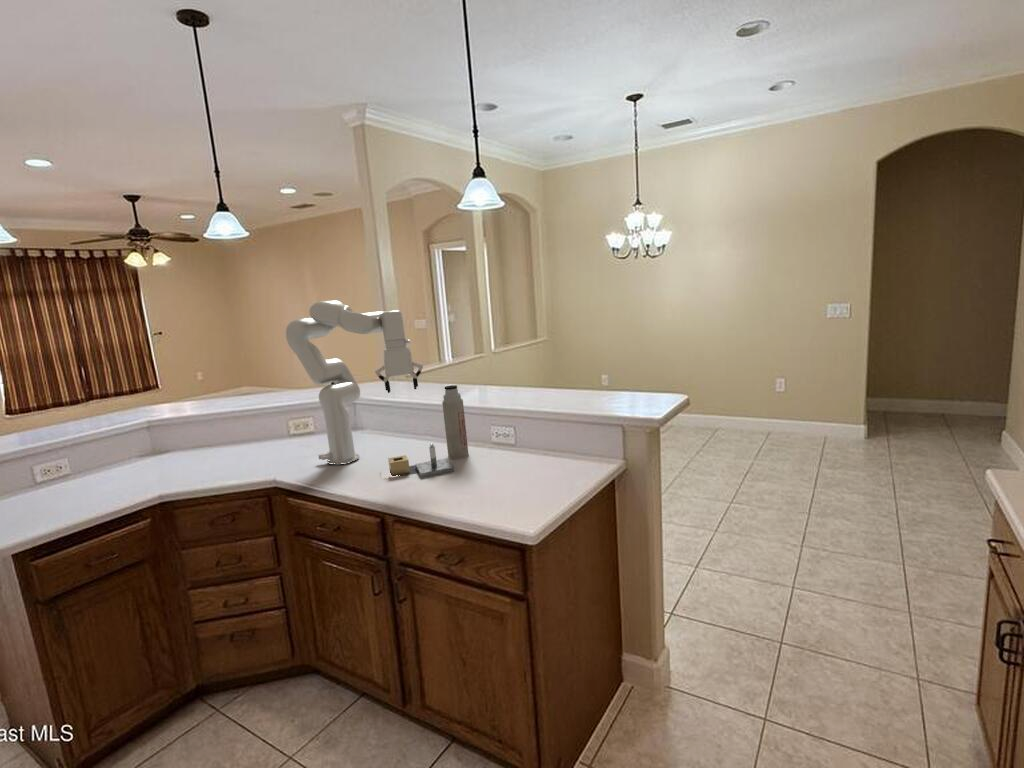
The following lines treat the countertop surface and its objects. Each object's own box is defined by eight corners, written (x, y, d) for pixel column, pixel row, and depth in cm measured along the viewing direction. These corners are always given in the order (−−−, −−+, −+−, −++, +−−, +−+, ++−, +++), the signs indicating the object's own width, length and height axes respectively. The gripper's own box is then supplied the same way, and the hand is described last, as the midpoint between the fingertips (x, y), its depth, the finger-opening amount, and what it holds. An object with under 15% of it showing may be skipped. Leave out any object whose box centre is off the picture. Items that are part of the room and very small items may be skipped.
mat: (381, 480, 188) (381, 480, 187) (379, 472, 197) (379, 471, 197) (421, 473, 192) (421, 472, 192) (416, 465, 201) (416, 464, 201)
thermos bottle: (472, 453, 210) (465, 384, 205) (458, 459, 204) (451, 388, 199) (457, 451, 215) (450, 383, 210) (444, 457, 209) (436, 387, 204)
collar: (391, 476, 190) (390, 463, 189) (389, 471, 196) (388, 458, 195) (410, 473, 192) (408, 459, 191) (407, 467, 198) (405, 455, 197)
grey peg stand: (421, 478, 186) (417, 451, 184) (415, 469, 197) (412, 443, 195) (454, 472, 190) (451, 445, 188) (447, 463, 201) (444, 437, 199)
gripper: (419, 341, 198) (426, 386, 201) (372, 346, 196) (379, 391, 199) (419, 342, 191) (425, 389, 193) (370, 348, 189) (377, 395, 191)
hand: (402, 390), depth 196 cm, fingers open, 9 cm apart
